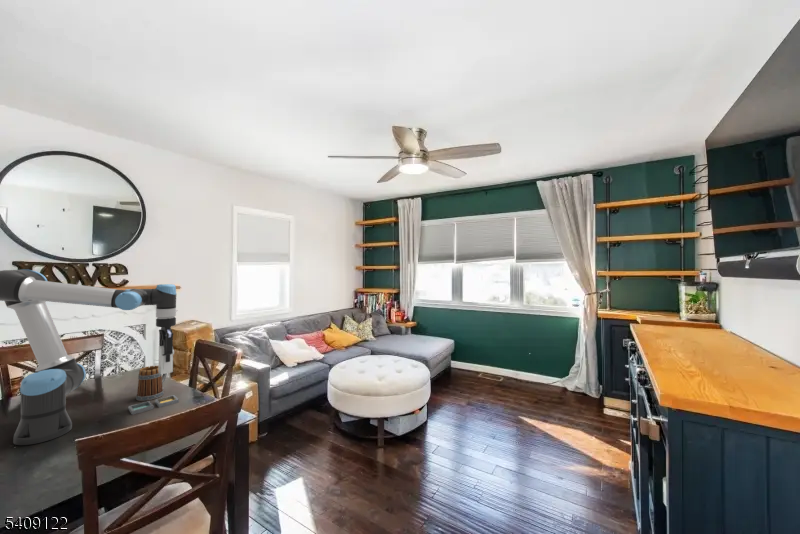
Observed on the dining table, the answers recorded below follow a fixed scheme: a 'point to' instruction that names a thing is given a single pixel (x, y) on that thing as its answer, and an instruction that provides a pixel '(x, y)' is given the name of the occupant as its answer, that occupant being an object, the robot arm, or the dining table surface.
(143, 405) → the panel
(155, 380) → the mug
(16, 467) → the dining table surface
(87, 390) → the dining table surface
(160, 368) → the plug
